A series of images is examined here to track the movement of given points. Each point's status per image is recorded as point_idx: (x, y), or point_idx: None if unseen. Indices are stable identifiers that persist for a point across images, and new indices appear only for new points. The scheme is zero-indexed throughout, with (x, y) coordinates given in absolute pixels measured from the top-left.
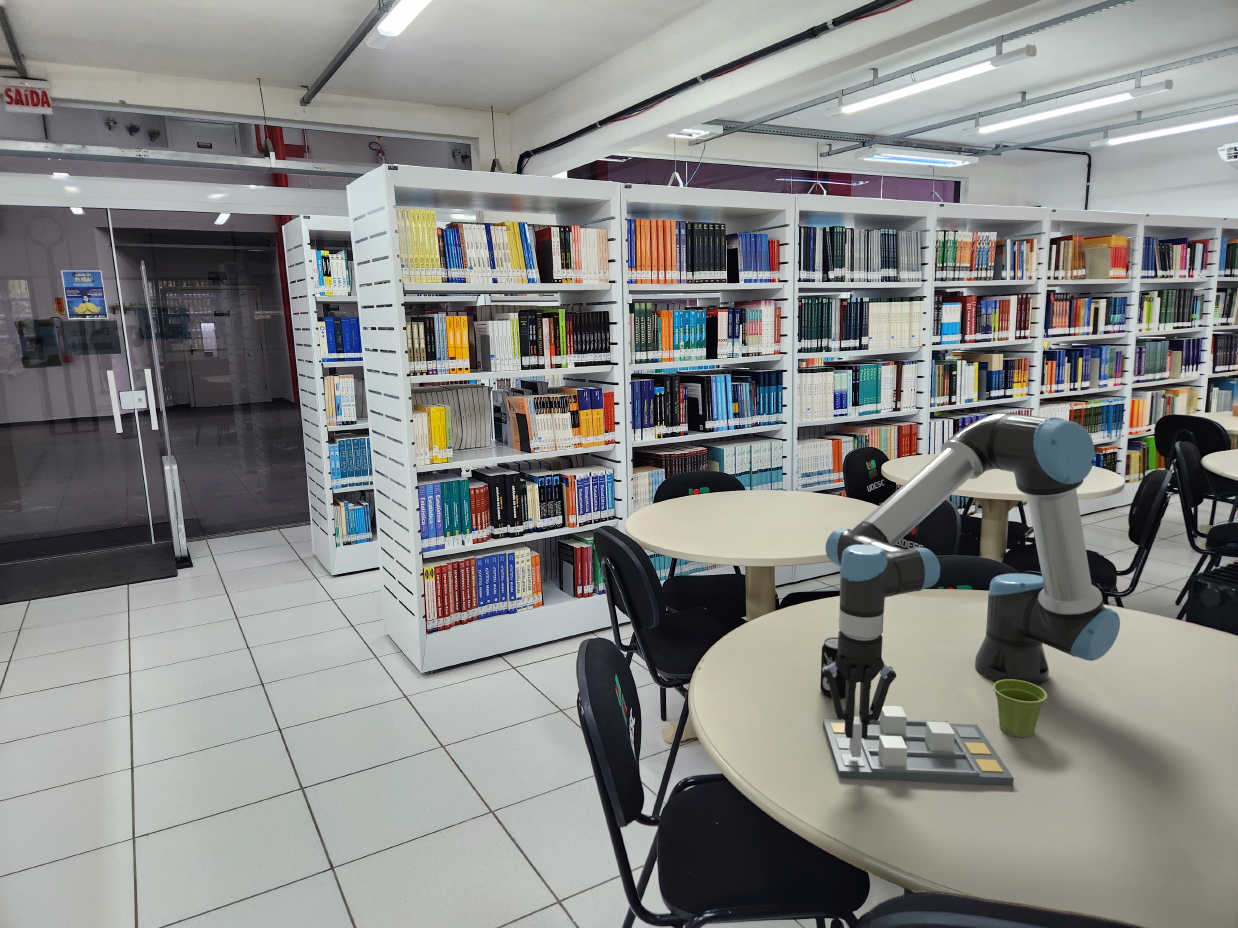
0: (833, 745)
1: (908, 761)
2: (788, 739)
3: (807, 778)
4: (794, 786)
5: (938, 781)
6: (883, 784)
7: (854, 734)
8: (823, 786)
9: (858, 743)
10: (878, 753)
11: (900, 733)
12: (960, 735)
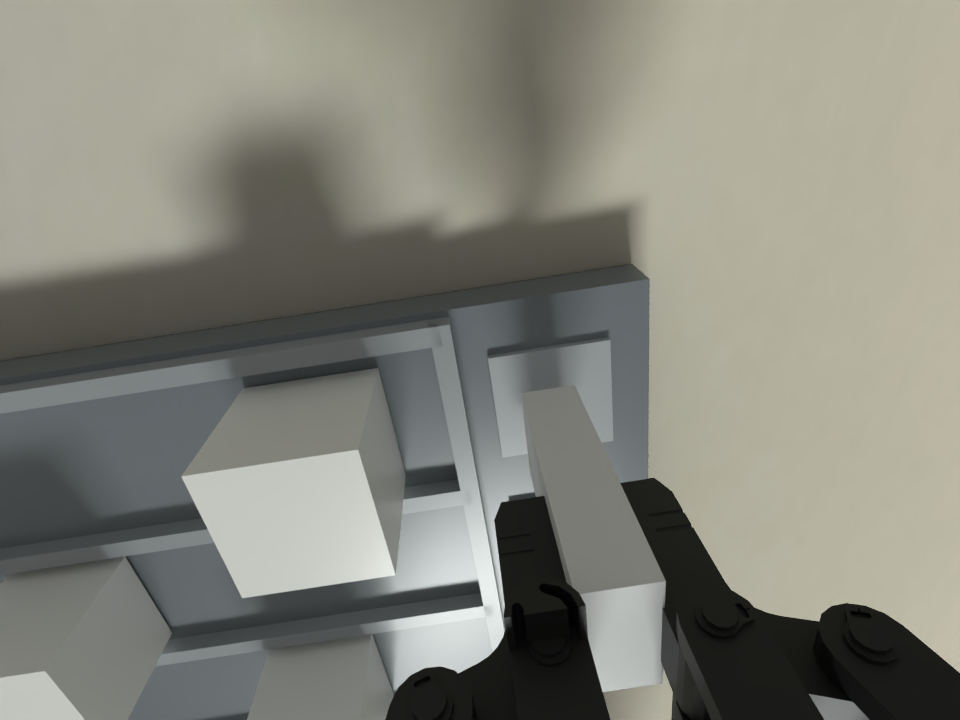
0: None
1: None
2: (815, 526)
3: (817, 220)
4: (924, 113)
5: (72, 351)
6: (381, 259)
7: (614, 496)
8: (742, 155)
9: (558, 448)
10: (404, 479)
11: (292, 653)
12: None
